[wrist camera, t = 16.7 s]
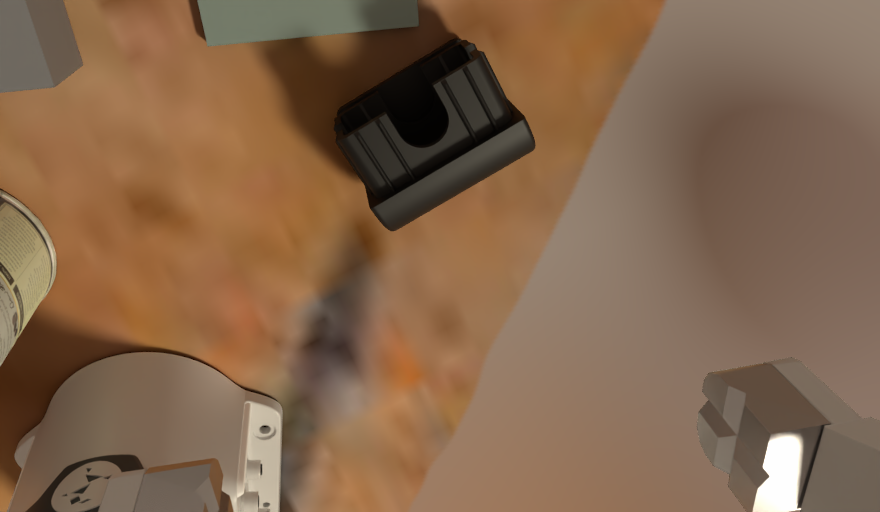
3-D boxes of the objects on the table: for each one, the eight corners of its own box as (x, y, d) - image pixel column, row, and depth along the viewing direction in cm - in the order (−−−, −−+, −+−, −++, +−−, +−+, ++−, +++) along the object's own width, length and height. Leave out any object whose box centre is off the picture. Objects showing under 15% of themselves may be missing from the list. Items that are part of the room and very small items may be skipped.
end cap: (385, 203, 45) (397, 249, 39) (326, 115, 41) (330, 151, 36) (515, 127, 44) (548, 162, 38) (466, 29, 41) (494, 53, 35)
